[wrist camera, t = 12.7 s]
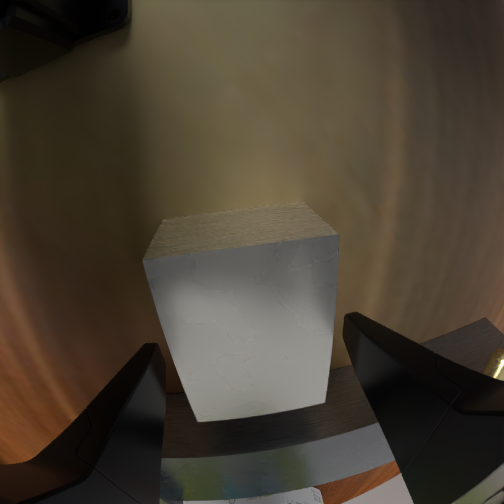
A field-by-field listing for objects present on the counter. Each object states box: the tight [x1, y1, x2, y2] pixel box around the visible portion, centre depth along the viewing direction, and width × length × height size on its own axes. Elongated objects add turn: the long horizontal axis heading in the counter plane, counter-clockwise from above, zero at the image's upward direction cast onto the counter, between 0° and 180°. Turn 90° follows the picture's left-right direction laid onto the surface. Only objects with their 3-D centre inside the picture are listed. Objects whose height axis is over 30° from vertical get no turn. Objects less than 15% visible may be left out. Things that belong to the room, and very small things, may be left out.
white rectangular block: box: [142, 201, 339, 422], centre depth 10 cm, size 5×7×4 cm
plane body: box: [160, 318, 504, 504], centre depth 13 cm, size 7×23×5 cm, turn 96°
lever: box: [483, 348, 504, 381], centre depth 12 cm, size 12×1×6 cm
